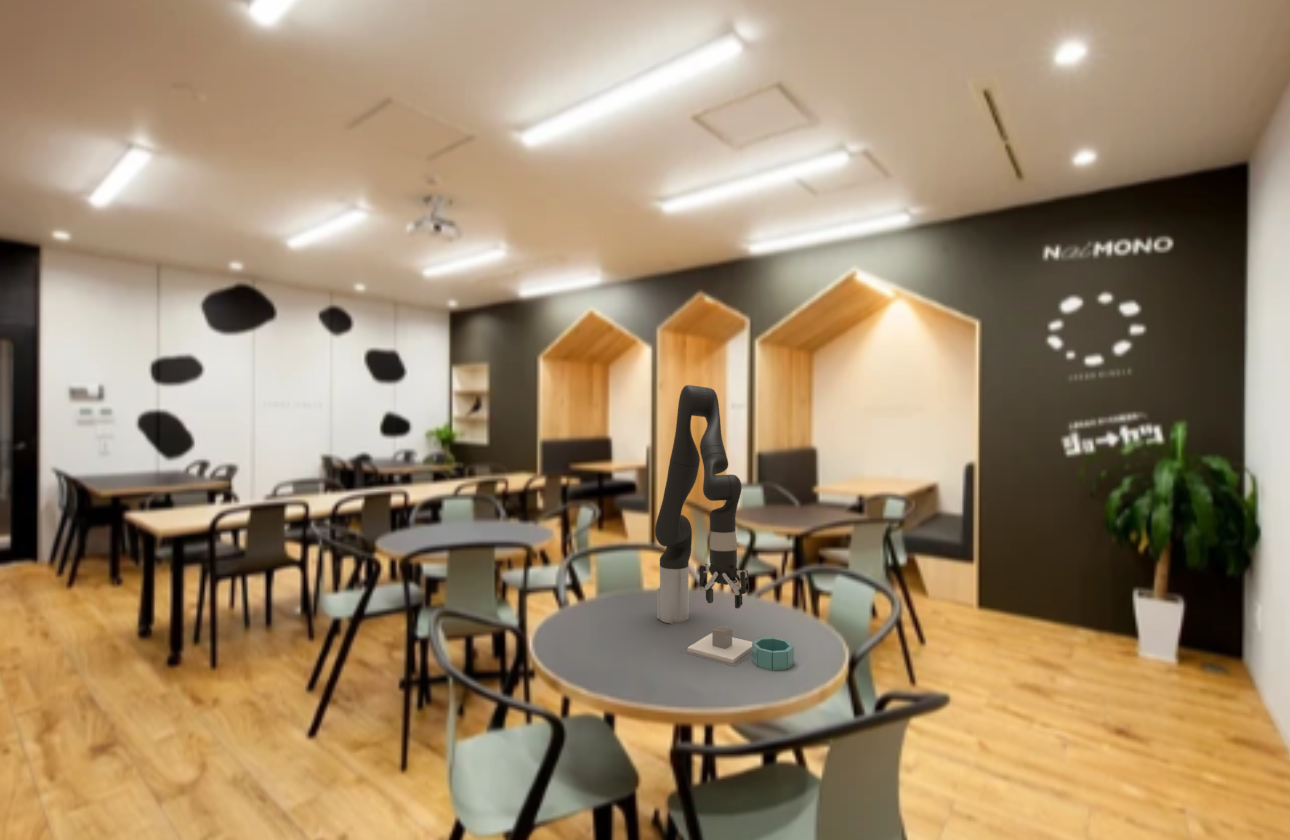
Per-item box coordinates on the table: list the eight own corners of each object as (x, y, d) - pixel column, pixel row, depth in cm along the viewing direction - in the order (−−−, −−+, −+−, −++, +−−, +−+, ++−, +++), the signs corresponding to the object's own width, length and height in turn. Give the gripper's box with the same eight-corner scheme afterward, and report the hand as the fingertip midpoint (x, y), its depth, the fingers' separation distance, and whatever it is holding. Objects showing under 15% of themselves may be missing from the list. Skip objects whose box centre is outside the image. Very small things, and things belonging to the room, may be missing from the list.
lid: (687, 651, 167) (687, 631, 167) (712, 635, 179) (712, 617, 179) (733, 663, 159) (733, 642, 159) (756, 646, 171) (756, 626, 170)
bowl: (746, 665, 159) (746, 646, 159) (763, 653, 167) (763, 634, 167) (783, 675, 153) (783, 655, 153) (798, 661, 161) (798, 643, 161)
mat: (679, 653, 167) (679, 651, 167) (710, 634, 181) (710, 633, 181) (735, 668, 157) (735, 666, 157) (763, 647, 171) (763, 646, 171)
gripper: (694, 546, 170) (694, 604, 170) (740, 552, 162) (741, 613, 162) (707, 541, 176) (708, 597, 176) (752, 547, 168) (753, 605, 168)
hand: (724, 605), depth 169 cm, fingers open, 8 cm apart
